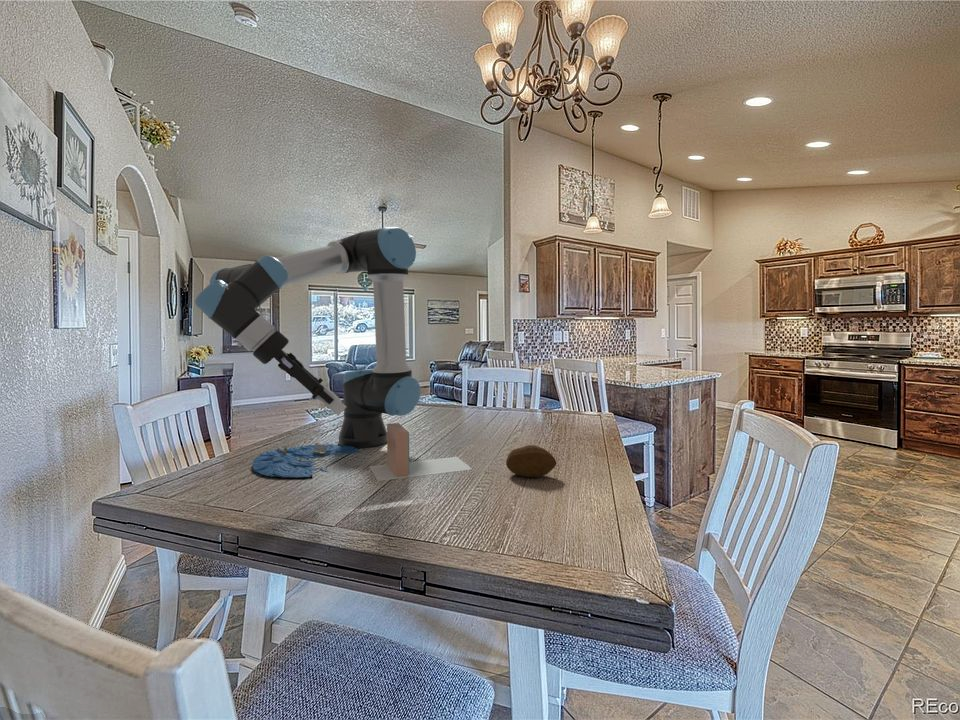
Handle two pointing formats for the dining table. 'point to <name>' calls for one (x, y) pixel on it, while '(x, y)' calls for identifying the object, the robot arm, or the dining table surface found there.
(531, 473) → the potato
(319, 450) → the decorative plate
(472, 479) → the dining table surface
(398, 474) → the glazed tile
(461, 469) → the grey rubber mat
